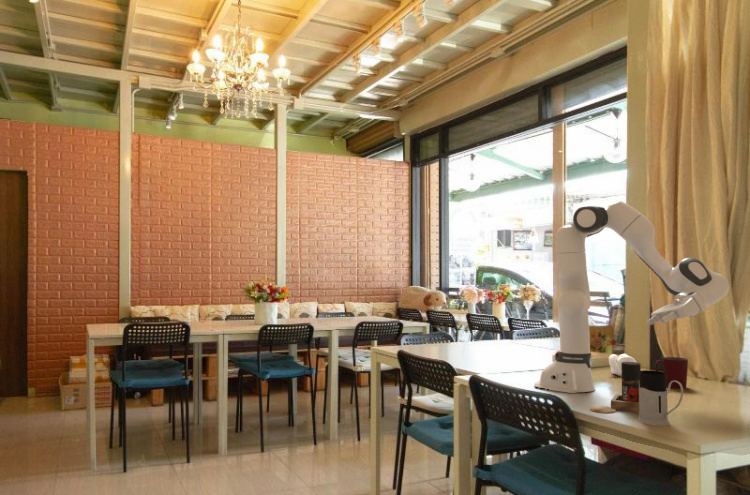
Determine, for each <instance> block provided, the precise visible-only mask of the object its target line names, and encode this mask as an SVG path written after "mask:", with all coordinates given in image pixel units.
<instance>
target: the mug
mask: <svg viewBox="0 0 750 495" xmlns="http://www.w3.org/2000/svg"><path fill="white" fill-rule="evenodd" d="M688 360H689V359H688V358H685V357H678V356H677V357H676V356H665V357H662V360H661V359H658V360H656V361H655V365H654V369H655V371H659V370H658V364H659V363H662V367H663V372H665V373H666V388H668V385H669V383H670V382H671V381H678V382H680V383H681V384H682V387H683V389H686V388H687V384H688V382H687V381H688V370H689V369H688V367H689V364H688V363H689V361H688ZM678 388H679V389H680V390H681V387H680V385H679V384H678V383H677V382H672V384H671V387H670V389H678Z"/></svg>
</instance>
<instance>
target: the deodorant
mask: <svg viewBox="0 0 750 495" xmlns="http://www.w3.org/2000/svg"><path fill="white" fill-rule="evenodd" d="M636 362H637V361H636ZM636 362H622V363H621V365H622V377H621V395H622V401H627V402H637V403H639V371H642V370H641V369H642V367H641V363H640V362H637V363H636Z"/></svg>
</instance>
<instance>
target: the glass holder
mask: <svg viewBox="0 0 750 495" xmlns="http://www.w3.org/2000/svg"><path fill="white" fill-rule="evenodd" d="M672 382H677V383H678V384H679V385H680V387H681V389H680V397H679V399H678V400H679V401H678V402H677V404H676V405H675V406H674V407H673V408H672V409H670V410H669V411H668V394H670V393H671V388H670V387H671V384H672ZM667 389H668V390H667ZM683 397H684V388H683V387H682V384H681V383H680V382H678V381H671V382H670V383H669V385H668V387H666V373H665V372H664V371H661V370H658V371H656V370H651V369H650V370H648V369H647V370H646V369H645V370H641V371H639V413H638V415H639V416H638V419H637V422H640V423H641V424H644V423H645V425H650V426H668V425H670V421H669V418H668V415H669V414H671V413H672V412H673V411H674V410H676V409H677V408H678V407H679V406H680V404H681V403H682V400H683Z"/></svg>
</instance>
